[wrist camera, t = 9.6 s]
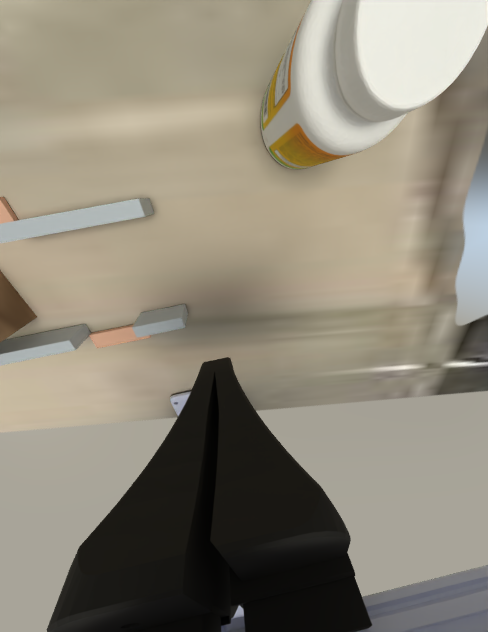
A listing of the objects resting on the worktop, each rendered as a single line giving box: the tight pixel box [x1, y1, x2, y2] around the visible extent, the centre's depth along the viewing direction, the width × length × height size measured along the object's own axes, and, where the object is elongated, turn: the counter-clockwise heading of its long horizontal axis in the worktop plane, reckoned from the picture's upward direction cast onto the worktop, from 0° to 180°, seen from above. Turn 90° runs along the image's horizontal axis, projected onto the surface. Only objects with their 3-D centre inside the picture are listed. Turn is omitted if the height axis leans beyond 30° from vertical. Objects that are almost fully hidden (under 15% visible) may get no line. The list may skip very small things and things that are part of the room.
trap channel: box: [0, 197, 188, 365], centre depth 16 cm, size 12×18×2 cm
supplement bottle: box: [261, 0, 488, 169], centre depth 10 cm, size 5×5×10 cm
